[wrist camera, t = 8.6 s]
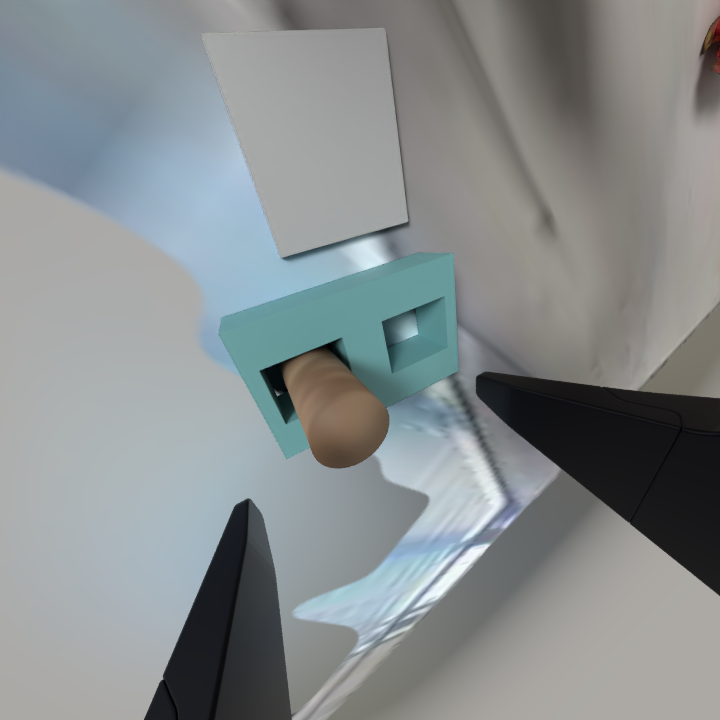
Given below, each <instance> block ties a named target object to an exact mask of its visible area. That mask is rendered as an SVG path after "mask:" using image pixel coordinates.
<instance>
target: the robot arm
mask: <svg viewBox="0 0 720 720" xmlns="http://www.w3.org/2000/svg"><path fill="white" fill-rule="evenodd" d="M476 394H477V396H478V397H479V398H480V399H481V400H482V401H483V402H484V403H485V404H486V405H487V406H488V407H489V408H490V409H491V410H492V411H493V412H494V413H495V414H496V415H497V416H498V417H499V418H500V419H501V420H502V421H503V422H505V423H506V424H507V425H508V426H509V427H510V428H511V429H513V430H514V431H515V432H516V433H518V434H519V435H520V436H521V437H523V438H524V439H525V440H526V441H528V442H529V443H530V444H531V445H533V446H534V447H535V448H536V449H538V450H539V451H540V452H541V453H543V454H544V455H545V456H546V457H548V458H549V459H550V460H551V461H553V462H554V463H555V464H556V465H557V466H559V467H560V468H561V469H562V470H564V471H565V472H566V473H567V474H569V475H570V476H571V477H572V478H574V479H575V480H576V481H577V482H579V483H580V484H581V485H583V486H584V487H585V488H586V489H587V490H589V491H590V492H591V493H592V494H594V495H595V496H596V497H597V498H599V499H600V500H601V501H602V502H604V503H605V504H606V505H607V506H609V507H610V508H611V509H613V510H614V511H615V512H616V513H617V514H619V515H620V516H621V517H622V518H624V519H625V520H626V521H627V522H630V524H631V525H632V526H633V527H635V528H636V529H637V530H638V531H640V532H641V533H642V534H643V535H645V536H646V537H647V538H648V539H649V540H651V541H652V542H653V543H654V544H656V545H657V546H658V547H659V548H661V549H662V550H663V551H664V552H666V553H667V554H668V555H669V556H671V557H672V558H673V559H674V560H676V561H677V562H678V563H679V564H681V565H682V566H683V567H684V568H686V569H687V570H688V571H689V572H691V573H692V574H693V575H694V576H696V577H697V578H698V579H699V580H701V581H702V582H703V583H704V584H706V585H707V586H708V587H709V588H710V589H712V590H713V591H714V592H716V593H717V594H718V595H719V596H720V398H710V397H698V396H686V395H674V394H663V393H652V392H642V391H633V390H624V389H616V388H608V387H600V386H593V385H585V384H578V383H570V382H562V381H554V380H547V379H539V378H531V377H524V376H516V375H508V374H501V373H493V372H483V373H481V374H480V375H478V376H477V377H476ZM285 664H286V663H285V654H284V645H283V636H282V627H281V618H280V609H279V600H278V591H277V583H276V574H275V568H274V564H273V559H272V555H271V550H270V546H269V541H268V537H267V532H266V528H265V523H264V519H263V516H262V514H261V512H260V511H259V509H258V508H257V507H256V506H255V504H254V503H253V501H252V500H251V499H246V500H244V501H242V502H240V503H238V504H236V505H235V507H234V509H233V511H232V513H231V516H230V518H229V521H228V523H227V525H226V527H225V530H224V532H223V535H222V537H221V539H220V542H219V544H218V546H217V549H216V552H215V554H214V556H213V559H212V561H211V563H210V565H209V568H208V570H207V572H206V575H205V577H204V579H203V582H202V585H201V587H200V589H199V592H198V594H197V596H196V598H195V601H194V603H193V606H192V608H191V610H190V613H189V615H188V618H187V620H186V622H185V625H184V627H183V629H182V632H181V634H180V636H179V639H178V641H177V643H176V646H175V648H174V651H173V653H172V655H171V658H170V660H169V662H168V665H167V667H166V669H165V672H164V674H163V680H161V682H160V683H159V686H158V688H157V690H156V693H155V695H154V697H153V700H152V702H151V704H150V707H149V710H148V712H147V714H146V716H145V718H144V720H292V718H291V709H290V700H289V690H288V681H287V672H286V665H285Z"/></svg>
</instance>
